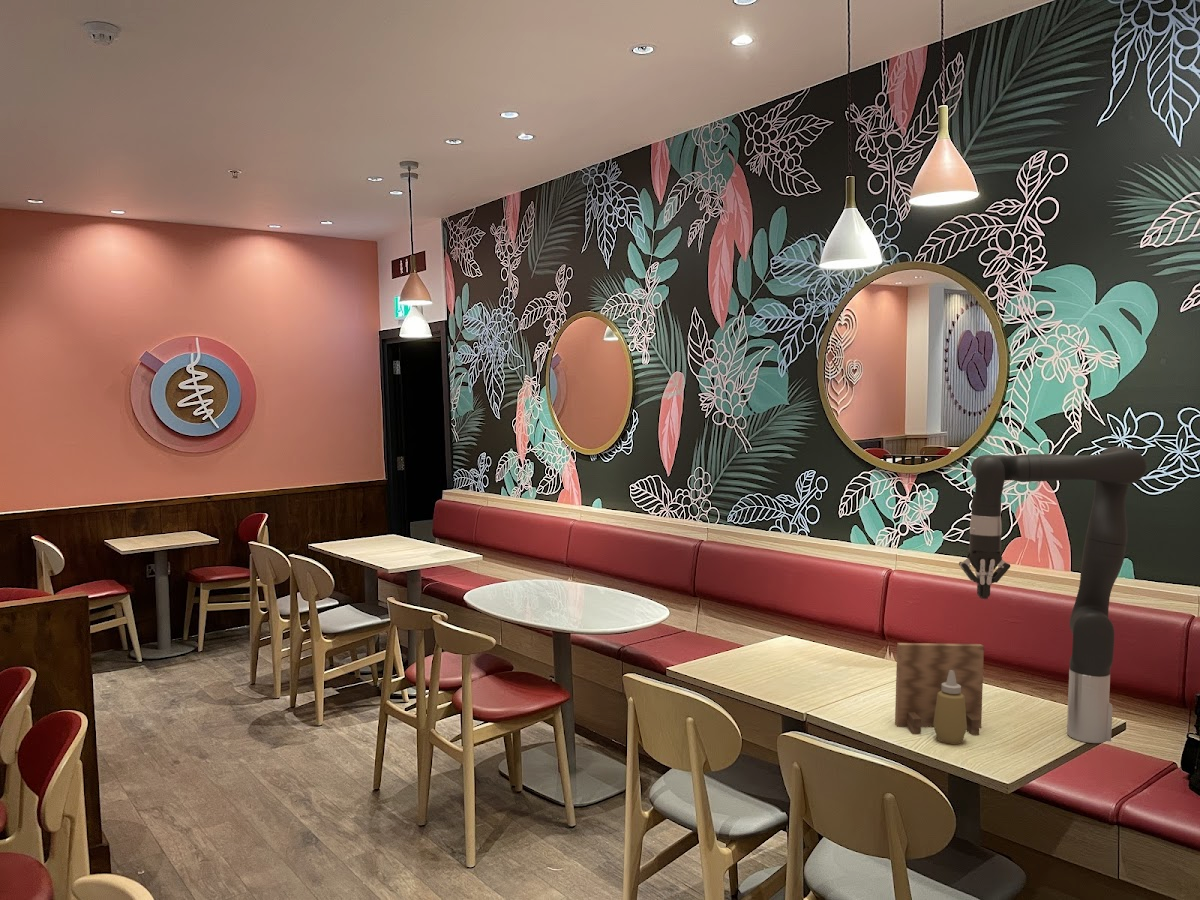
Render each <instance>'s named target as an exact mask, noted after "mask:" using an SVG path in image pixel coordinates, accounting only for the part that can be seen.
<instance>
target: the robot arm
mask: <svg viewBox="0 0 1200 900" xmlns="http://www.w3.org/2000/svg"><path fill="white" fill-rule="evenodd" d="M1147 465H1148V464H1147V461H1146V459H1145V458H1144V456H1143V455H1142V454H1141V453H1140V452H1138V451H1137V450H1136V449H1132V448H1129V447H1125V446H1119V445H1115V446H1110V447H1106V449H1104V450H1102V452H1101V453H1099V454H1085V455H1081V454H1080V455H1075V454H1073V455H1071V454H1055V453H1034V454H1033V453H1031V454H1030V453H1029V454H1017V455H1008V454H1007V455H1006V454H1002V455H1001V454H982V455H979V456H978V457H976V458H974V460H973V461H972V462H971V465H970V472H971V474H972V476H973V477H974V478H975V487H974V489H975V491H974V493H973V495H972V497H971V498H972V499H971V514H970V515H971V516H970V522H969V546H968V548H969V550H968V551H969V552H968V554H967V556H966V557H967V558H966V559H965V560H963V561H959V562H958V565H959V567H960V568H961V569H962V571H963V572H964V573H965V575H966V576H967V578H968V579H969V580H970V581H972V582H974V583H976V584H977V588H976V595H977V596H978V597H979V599H981V600H988V599H989V597H990V595H991V585H992V584H994V583H998V582H999V581H1000V580H1001V578H1002V577H1003V576H1004V575H1005V574H1006V573H1007V572H1008V571H1009V569H1010V568H1011V564H1010V563H1008V562H1006V561H1004V560H1003V556H1002V554H1001V550H1002V549H1001V548H1002V531H1003V530H1002V516H1001V515H1002V494H1003V491H1004V485H1005V481H1014V482H1018V483H1019V482H1022V483H1032V482H1033V483H1034V482H1055V481H1058V482H1059V481H1076V480H1077V481H1094V494H1093V501H1092V504H1091V505H1092V506H1091V509H1090V515H1089V520H1088V524H1087V529H1086V530H1087V531H1086V534H1085V539H1084V545H1083V550H1082V551H1083V552H1082V557H1081V558H1082V559H1081V564H1080V565H1081V568H1080V577H1079V579H1080V580H1079V587H1078V591H1077V595H1076V598H1075V601H1074V605H1073V608H1072V612H1071V615H1070V617H1069V628H1070V631H1071V633H1072V646H1071V648H1072V649H1071V656H1070V658H1069V667H1068V669H1069V670H1068V695H1067V697H1068V698H1067V716H1066V717H1067V719H1066V720H1067V722H1066V734H1067V736H1068V735H1069V736H1068V737H1069V738H1071V737H1072V738H1071V739H1074V740H1076V741H1080V742H1084V743H1088V744H1089V743H1090V744H1103V743H1106V742H1111V741H1112V730H1113V729H1112V728H1113V727H1112V725H1113V708H1114V706H1113V704H1112V703H1110V688H1111V669H1112V665H1113V662H1114V649H1115V648H1114V647H1115V646H1114V645H1115V628H1114V625H1113V622H1112V621H1111V620H1110V618H1109V608H1110V607H1109V606H1110V598H1111V593H1112V591H1113V590H1112V589H1113V587H1114V585H1115V582H1116V581H1117V578H1118V576H1119V574H1120V571H1121V569H1122V567H1123V564H1124V560H1125V556H1126V551H1127V545H1128V537H1129V536H1128V523H1127V514H1126V500H1127V499H1126V497H1127V493H1128V490H1129V486H1130V485H1131V484H1133V483H1136V482H1139V481H1140V480H1141V479H1142V478H1143V477H1144V475H1145V474H1146V472H1147V469H1148V467H1147ZM971 566H972V567H973V569H974V571H975V573H974V572H973V571H972V569H971ZM995 569H996V570H995ZM994 570H995V571H994Z"/></svg>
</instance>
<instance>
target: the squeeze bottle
mask: <svg viewBox="0 0 1200 900" xmlns="http://www.w3.org/2000/svg"><path fill="white" fill-rule="evenodd" d="M941 690H942V691H940V692H938V694H937V701H936V708H935V715H934V722H933V726H934V727H933V728H934V733H935V734H936V738H937V740H938V741H940V742H942V743H945V744H951V745H958V744H961V743H962V742H963V739H964V738H965V734H966V733H967V722H966V708H965V696H964V695H963V694H962V693H961V686H960V685H959V684H957V683H956V678H955V673H954V671H953V670H949V674H948V677H947V681H946V682H944V683H942V686H941Z"/></svg>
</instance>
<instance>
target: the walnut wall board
mask: <svg viewBox="0 0 1200 900" xmlns="http://www.w3.org/2000/svg"><path fill="white" fill-rule="evenodd" d="M896 644H897V645H896V671H895V673H896V675H895V676H896V679H895V707H894V708H895V710H894V711H895V712H894V714H895V715H894V725H895V726H896V727H899V728H905V727H906V728H907V729H908V731H910V732H911V734H912V735H921V732H922V728H934V726H933V722H934V715H935V708H936V701H937V694H938V692H940V691H942V690H941V686H942V683H944V682H946V681H947V677H948V674H949V670H953V671H954V673H955V678H956V683H957V684H959V685H960V686H961V693H962V694H963V695H964V696H965V708H966V722H967V730H966V732H968V734H969V735H971V736H980V729H982V717H983V716H982V715H983V714H982V713H983V689H984V688H983V685H984V684H983V682H984V681H983V680H984V657H985V656H984V655H985V651H984V650H985V645H983V644H982V643H981V644H980V643H938V642H937V643H936V642H935V643H929V642H927V643H925V642H920V643H919V642H915V643H914V642H910V643H909V642H897V643H896Z"/></svg>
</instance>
